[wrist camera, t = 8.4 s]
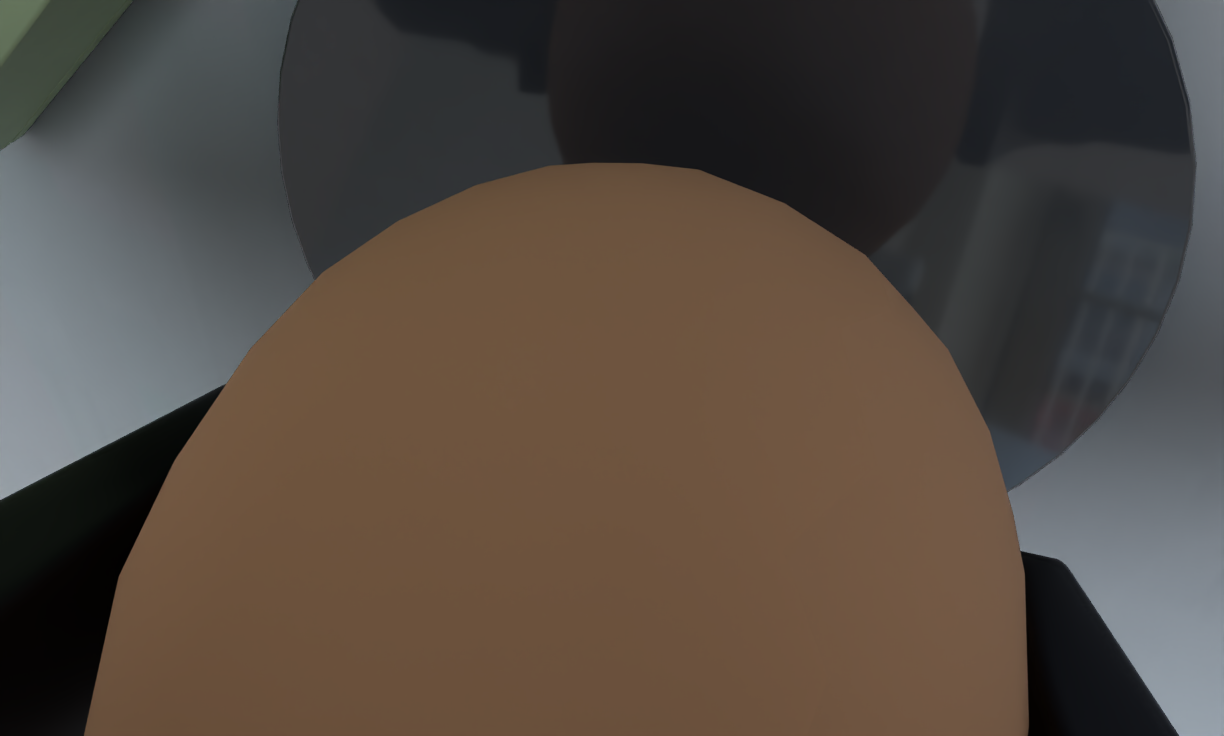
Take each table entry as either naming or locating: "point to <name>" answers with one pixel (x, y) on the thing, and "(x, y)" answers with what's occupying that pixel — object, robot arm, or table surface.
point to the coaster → (803, 151)
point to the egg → (582, 492)
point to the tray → (45, 53)
